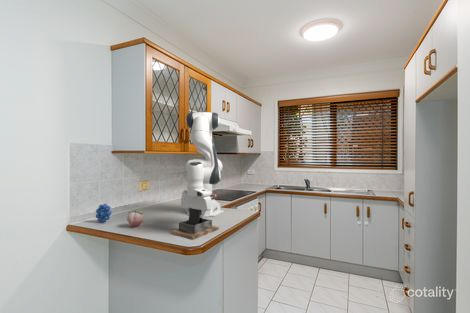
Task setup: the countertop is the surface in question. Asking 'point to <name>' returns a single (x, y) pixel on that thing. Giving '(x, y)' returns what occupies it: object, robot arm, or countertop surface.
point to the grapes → (103, 213)
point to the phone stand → (195, 217)
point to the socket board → (195, 229)
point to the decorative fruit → (135, 218)
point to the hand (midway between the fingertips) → (195, 216)
